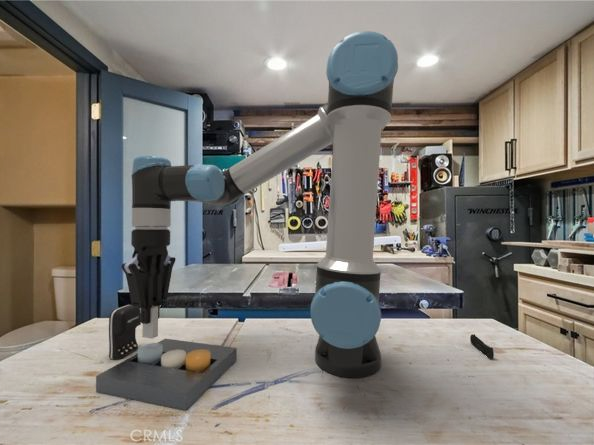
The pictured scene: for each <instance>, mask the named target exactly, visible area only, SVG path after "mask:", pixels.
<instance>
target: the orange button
mask: <svg viewBox="0 0 594 445" xmlns="http://www.w3.org/2000/svg"><path fill="white" fill-rule="evenodd" d="M209 367H210V351H209V350H205V349H199V350H194V351H191V352H189V353H188V354H187V355H186V371H191V372H197V373H203V372H204V371H205V370H206V369H207V368H209Z"/></svg>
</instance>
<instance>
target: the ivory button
mask: <svg viewBox="0 0 594 445" xmlns="http://www.w3.org/2000/svg"><path fill="white" fill-rule="evenodd" d="M185 362H186V352H185V351H184V350H172V351H168V352H166V353H164V354H163V355H162V356H161V367H167V368H173V369H176V368H178V367H179V366H180V365H182V364H183V363H185Z"/></svg>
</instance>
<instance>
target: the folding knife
mask: <svg viewBox="0 0 594 445" xmlns="http://www.w3.org/2000/svg"><path fill="white" fill-rule="evenodd" d="M469 338H470V340H469V341H470V344H471V345H472V346H473V347H474V348H475V349H477V350H478V351H479V352H480V351H481V352H482V353H481V352H480V353H481V354H483V355H484V356H485V355H486V356H487V357H488V358H487V357H486V356H485V357H486V358H487V359H489V360H492V359H494V356H495V353H494V349H493V347H490V345H488V344H486V343H485V342H484V341H482V339H480V338H479V337H478V336H476V334H475V333H473V334H471V335H470V337H469Z"/></svg>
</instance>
